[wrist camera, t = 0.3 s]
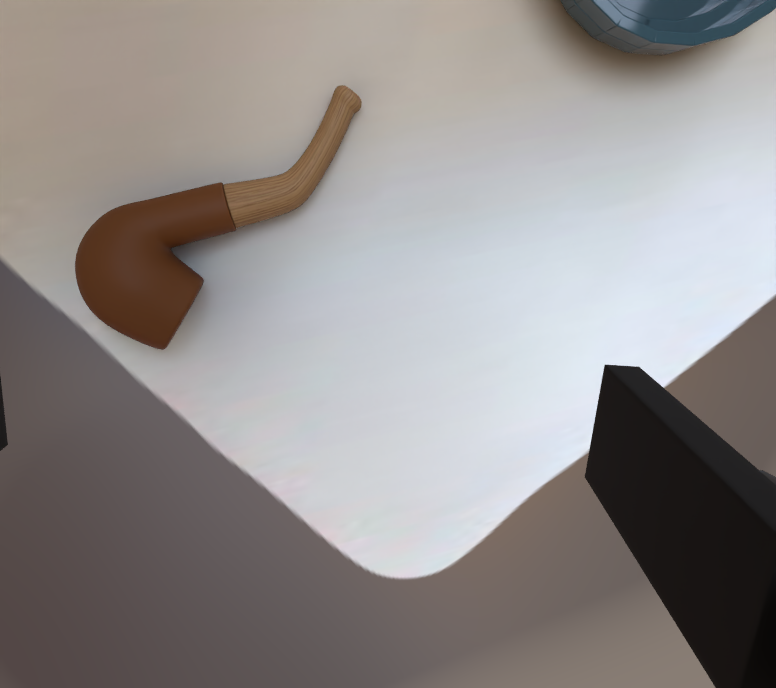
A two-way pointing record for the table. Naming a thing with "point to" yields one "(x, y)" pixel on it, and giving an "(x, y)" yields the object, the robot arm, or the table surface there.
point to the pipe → (188, 236)
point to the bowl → (664, 21)
